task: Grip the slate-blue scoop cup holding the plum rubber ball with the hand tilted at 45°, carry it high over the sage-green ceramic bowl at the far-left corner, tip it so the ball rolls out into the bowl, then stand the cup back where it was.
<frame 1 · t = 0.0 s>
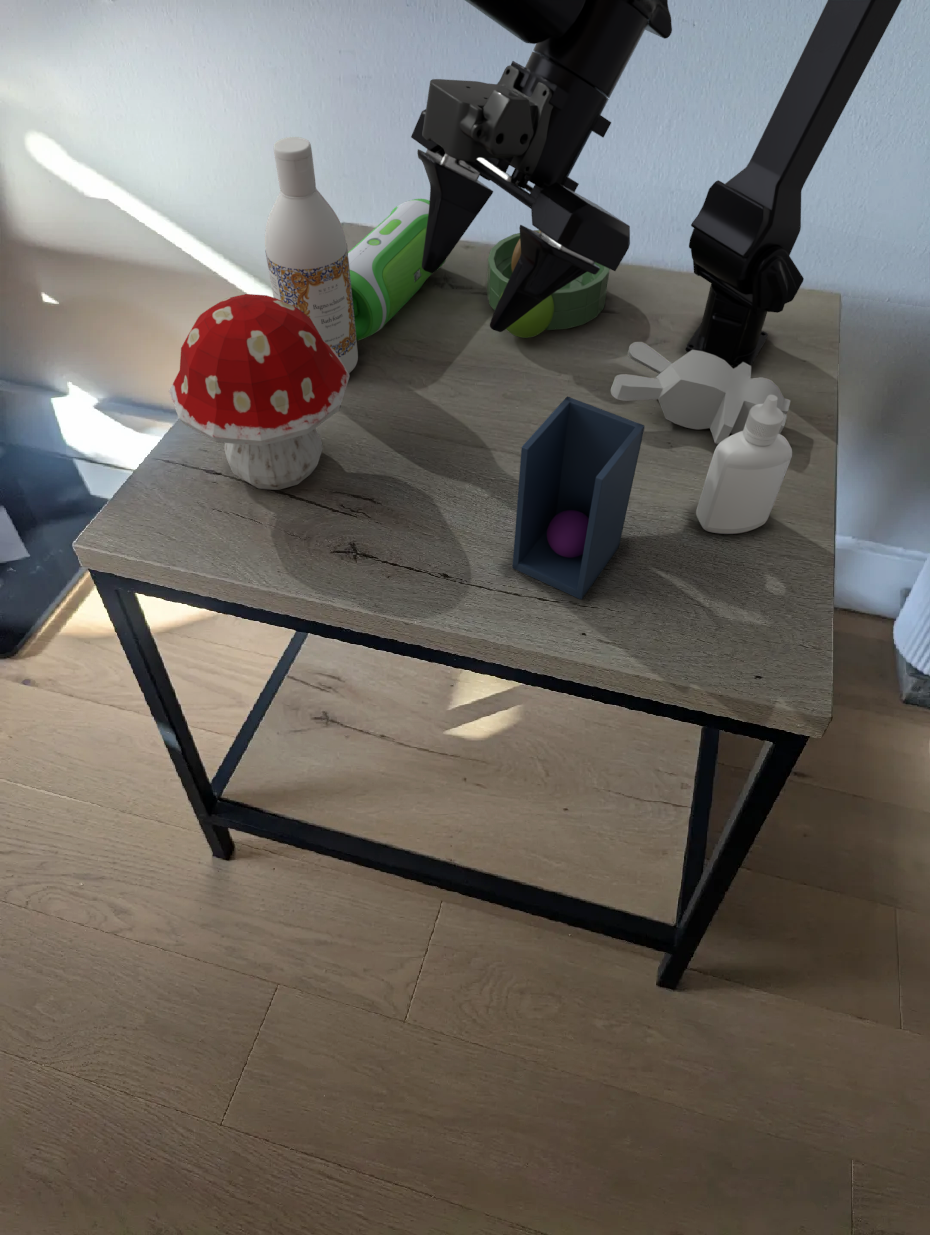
hand: (459, 299, 63), 15 cm above the table, tool tilted 35°, fingers open, 9 cm apart
eye dropper bottle: (729, 521, 70), on the table
scoop cup: (564, 559, 67), on the table, touching ball
bunny figurine: (694, 417, 79), on the table
bowl: (545, 300, 90), on the table
bath foam: (322, 365, 83), on the table
speaker: (389, 303, 90), on the table
ball: (570, 533, 66), point 2 cm above the table, touching scoop cup
decorative mushroom: (277, 467, 74), on the table
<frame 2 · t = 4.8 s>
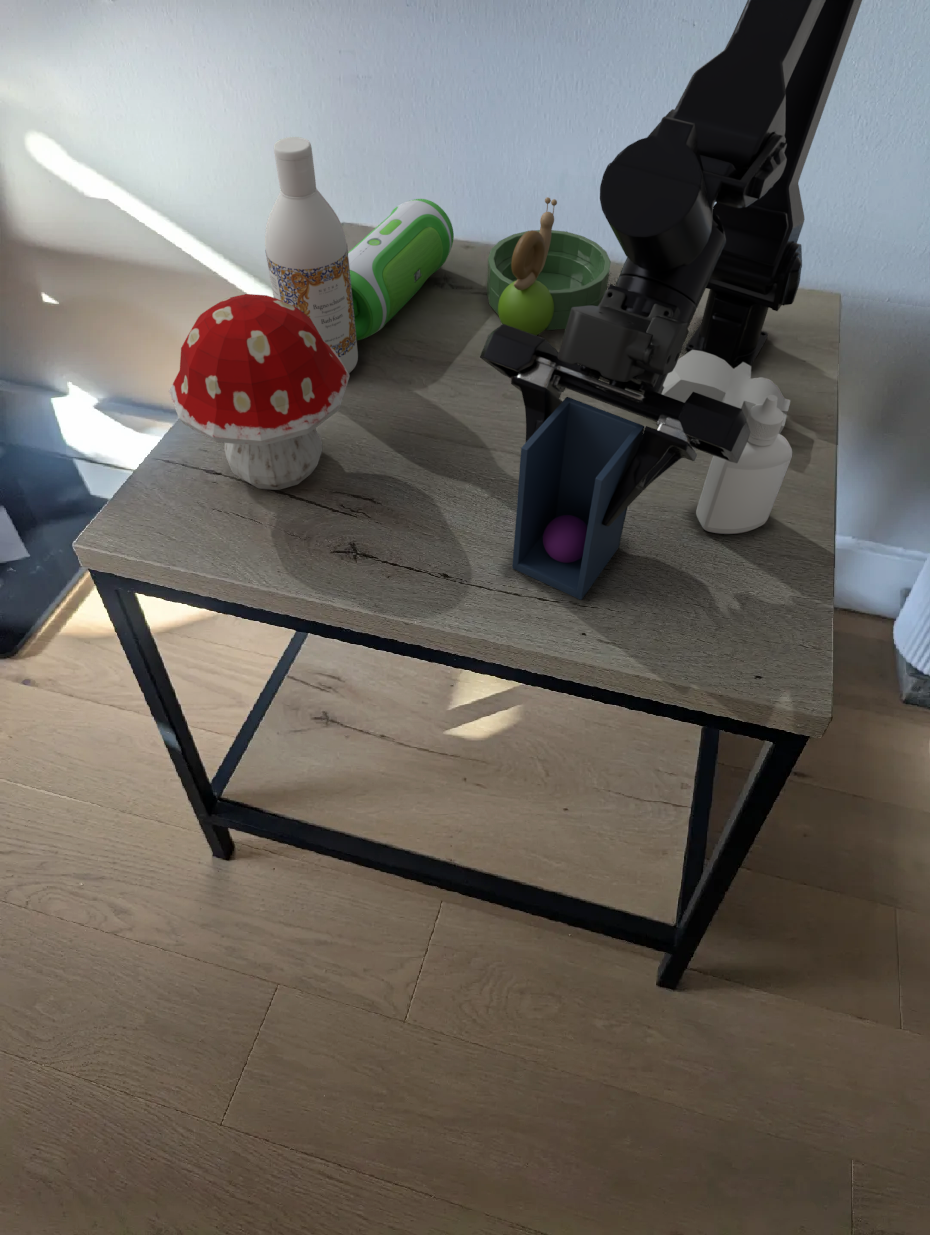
hand: (564, 508, 61), 7 cm above the table, tool tilted 45°, fingers closed on scoop cup, 6 cm apart
scoop cup: (564, 559, 67), on the table, touching ball, gripper
ball: (566, 538, 65), point 2 cm above the table, tilted 19°, touching scoop cup
everything else where it was.
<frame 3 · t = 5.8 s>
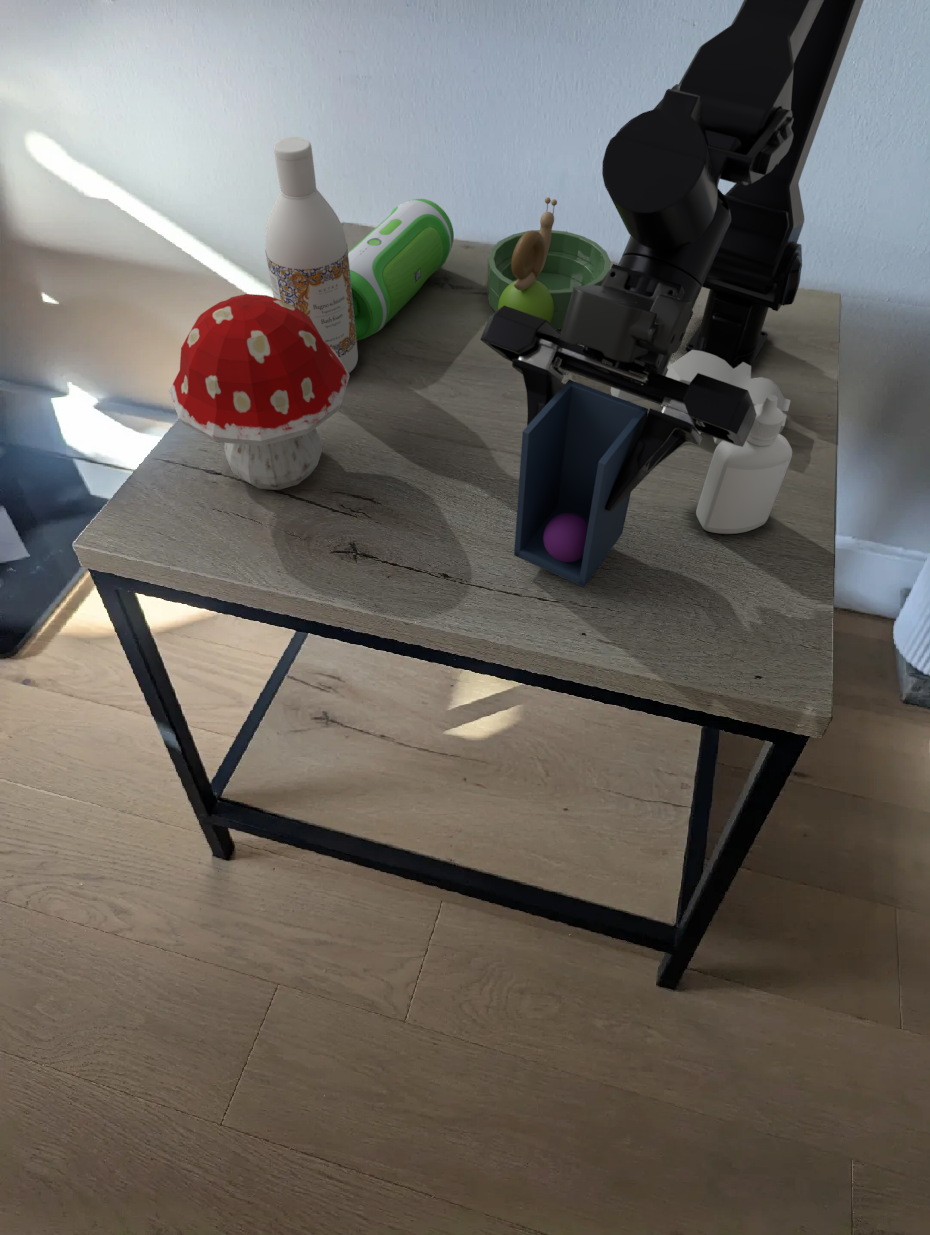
hand: (566, 493, 60), 8 cm above the table, tool tilted 45°, fingers closed on scoop cup, 6 cm apart
scoop cup: (567, 546, 66), point 1 cm above the table, touching ball, gripper
ball: (567, 537, 64), point 4 cm above the table, tilted 59°, touching scoop cup
everything else where it was.
when the fingers open (7 cm above the table, at t = 25.1 s): scoop cup stays where it is, on the table.
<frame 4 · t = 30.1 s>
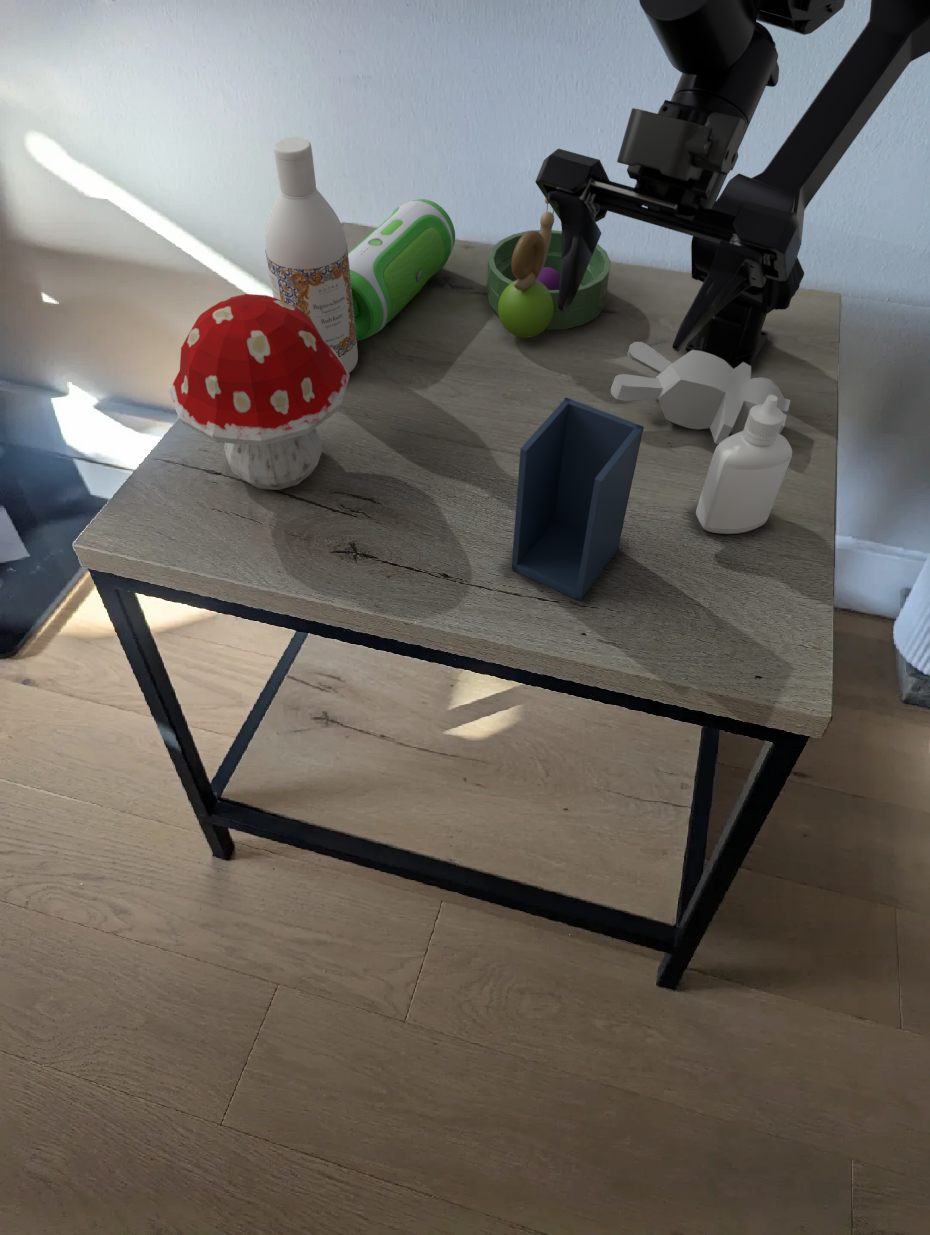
hand: (617, 329, 63), 14 cm above the table, tool tilted 45°, fingers open, 9 cm apart
scoop cup: (563, 560, 67), on the table
ball: (545, 286, 88), point 2 cm above the table, tilted 142°, touching bowl
everything else where it was.
at the end: ball inside the target area in the bowl (1.1 cm from its centre), point 2.3 cm above the bowl's base; scoop cup tilted 0°; scoop cup on the table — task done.
